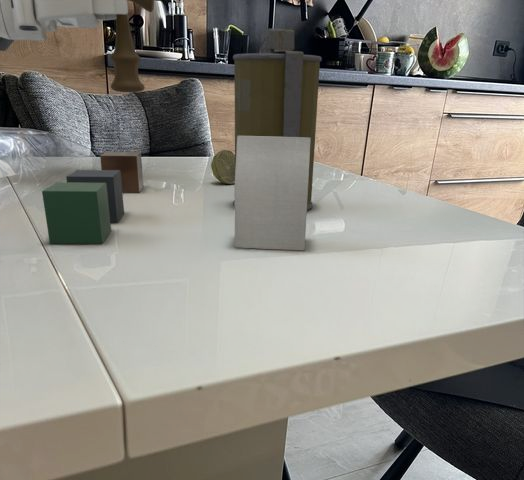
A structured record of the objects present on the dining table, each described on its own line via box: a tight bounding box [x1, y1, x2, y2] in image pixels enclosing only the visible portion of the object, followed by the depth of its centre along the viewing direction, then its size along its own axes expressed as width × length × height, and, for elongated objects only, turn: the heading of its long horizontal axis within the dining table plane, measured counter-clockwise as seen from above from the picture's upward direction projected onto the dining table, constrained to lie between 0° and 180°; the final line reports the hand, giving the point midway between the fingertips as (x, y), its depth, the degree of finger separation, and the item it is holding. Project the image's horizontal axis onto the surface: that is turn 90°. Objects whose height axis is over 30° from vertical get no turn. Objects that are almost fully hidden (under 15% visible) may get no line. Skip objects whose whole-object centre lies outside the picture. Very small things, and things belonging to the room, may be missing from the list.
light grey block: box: [234, 136, 311, 251], centre depth 52 cm, size 4×7×10 cm, turn 85°
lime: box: [210, 149, 235, 185], centre depth 86 cm, size 4×5×5 cm
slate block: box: [65, 169, 125, 224], centre depth 62 cm, size 5×5×5 cm
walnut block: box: [99, 151, 144, 194], centre depth 79 cm, size 5×5×5 cm
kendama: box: [109, 0, 155, 93], centre depth 81 cm, size 6×10×20 cm, turn 102°
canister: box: [232, 28, 323, 211], centre depth 67 cm, size 11×10×20 cm
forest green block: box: [41, 181, 112, 245], centre depth 54 cm, size 5×5×5 cm
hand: (127, 10), depth 80 cm, fingers closed on kendama, 4 cm apart
